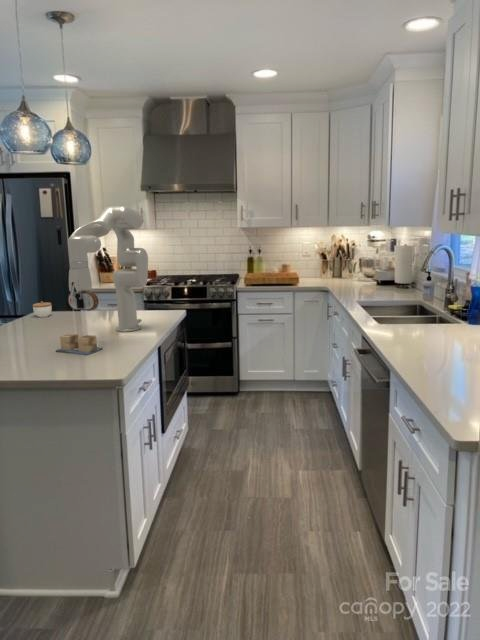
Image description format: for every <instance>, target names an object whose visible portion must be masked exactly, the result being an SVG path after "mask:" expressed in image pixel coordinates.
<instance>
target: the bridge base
mask: <svg viewBox="0 0 480 640" xmlns="http://www.w3.org/2000/svg"><path fill="white" fill-rule="evenodd" d="M59 338H60V339H59V340H60V348H58V349H56V350H55V353H56V352H57V353H64V354H74V355H82V356H83V355H84V356H89V355H92V354H95V353H96V352H99V351H100V352H101V351H102V350H104V349H103V347H98V345H97V343H98V342H97V336H96V335H91V334H85V335H83V336H79V334H78V333H67V334H63V335H60V336H59Z"/></svg>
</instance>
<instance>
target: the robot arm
mask: <svg viewBox="0 0 480 640" xmlns="http://www.w3.org/2000/svg"><path fill="white" fill-rule="evenodd" d="M142 226H143V216H142V215H141V213H140V212H138V211H137V210H135V209H133V208H131V207H129V206H125V205H113V206H112V205H111V206H106V207H105V208H103V209H102V210H101V212H100V213H99V214H98V215H97V216H96V217H95V219H94V220H93V221H90V222H87V223H86V224H84V225H81V226H80V227H78V228H76V229H75V230H74V231H73V232H72V234H71V235H70V236H69V238H68V239H67V248H68V255H69V267H70V268H69V271H68V289H69V290H68V291H69V292H70V293H71V295H73V296H74V297H75V299H76V300H77V308H84V303H83V299H82V292H84V291H91V292H93V285H92V284H93V283H92V276H91V272H90V271H91V270H90V268H89V258H88V257H89V256H88V254H89V253H97V252H98V251H99V250H101V247H102V241H101V239H100V238H102V237H105V236H107V235H108V234H109V233H110V231H111V230H113V232H114V234H115V236H116V239H117V241H116V242H117V243H116V245H117V246H116V247H117V249H116V261H117V262H116V263H117V264H118V265H119V266H121V267H129V268H122V269H116V271H114V272H113V275H112V282H113V285H114V288H115V295H116V307H117V308H116V309H117V320H118V326H116V327H115V331H117V332H121V333H122V332H123V333H125V332H135V331H139V330H141V329H142V328H141V325H139V324H140V323H142V319H141V318H138V315H137V314H138V313H137V302H136V295H135V292H134V290H133V289H136V288H137V289H141V288H144V287H146V285H147V284H148V278H149V277H148V275H149V274H148V273H149V271H148V270H149V255H148V252H147V250H146V249H145V248H141V247H135V237H134V235H133V234H132V233H131V231H130V230H138V229H141V227H142ZM130 267H134V268H130ZM135 267H136V268H135ZM78 293H79V295H78Z"/></svg>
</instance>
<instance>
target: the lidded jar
mask: <svg viewBox="0 0 480 640" xmlns="http://www.w3.org/2000/svg"><path fill="white" fill-rule="evenodd" d="M43 301H44V300H43ZM43 301H42V300H41V301H40V302H37V303H34V304H32V309H33V310H32V311H33V313H34V315H35V316H37V318H47V317H49V316H50V315H51V313H52V310H53V309H52V307H53V306H52V305H53V304H52V302H48V301H47V302H45V301H44V302H43Z"/></svg>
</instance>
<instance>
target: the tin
mask: <svg viewBox="0 0 480 640" xmlns="http://www.w3.org/2000/svg"><path fill="white" fill-rule="evenodd" d="M78 295H79V293H78ZM82 299H83V303H84V308H77V300H76V299H75V297H74V296H73V295H71V292H70V293H69V294H68V296H67V302H68V303H67V304H68V305H69V307H70V308H71V309H73V310H74V311H76V310H77V311H95V310H96V309H97V308H98V306H99V298H98V296H97V294H96V293H95V292H93V291H84V292H82Z"/></svg>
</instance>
